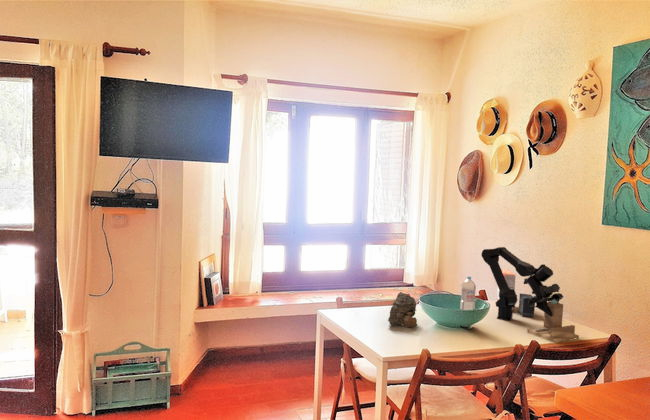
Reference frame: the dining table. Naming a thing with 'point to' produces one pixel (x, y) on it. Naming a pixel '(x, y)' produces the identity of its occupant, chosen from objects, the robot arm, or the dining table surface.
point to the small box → (525, 306)
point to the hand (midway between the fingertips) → (556, 315)
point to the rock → (403, 311)
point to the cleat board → (555, 333)
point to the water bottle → (468, 295)
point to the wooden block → (554, 315)
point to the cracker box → (508, 281)
